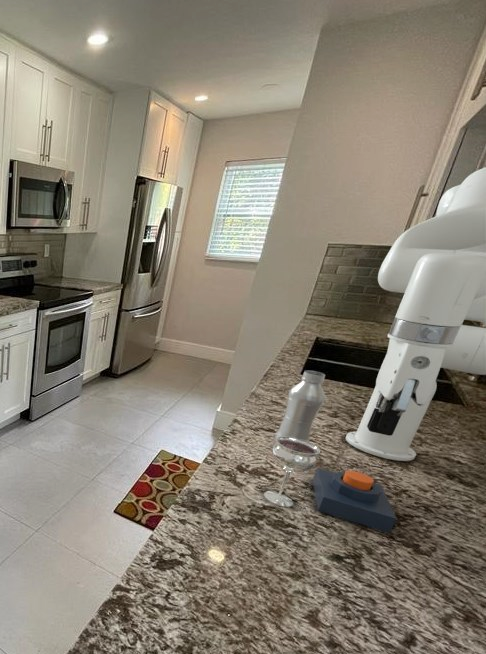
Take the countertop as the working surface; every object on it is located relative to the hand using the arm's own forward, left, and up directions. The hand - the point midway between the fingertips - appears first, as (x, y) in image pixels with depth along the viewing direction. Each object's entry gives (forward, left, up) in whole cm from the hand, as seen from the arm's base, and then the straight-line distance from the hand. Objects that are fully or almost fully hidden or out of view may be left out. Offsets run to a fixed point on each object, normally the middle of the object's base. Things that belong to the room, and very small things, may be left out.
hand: (379, 431), depth 73 cm
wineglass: (+6, -11, -16) cm, 21 cm away
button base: (0, 0, -16) cm, 16 cm away
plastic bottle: (-17, -9, -16) cm, 25 cm away
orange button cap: (0, 0, -11) cm, 11 cm away
